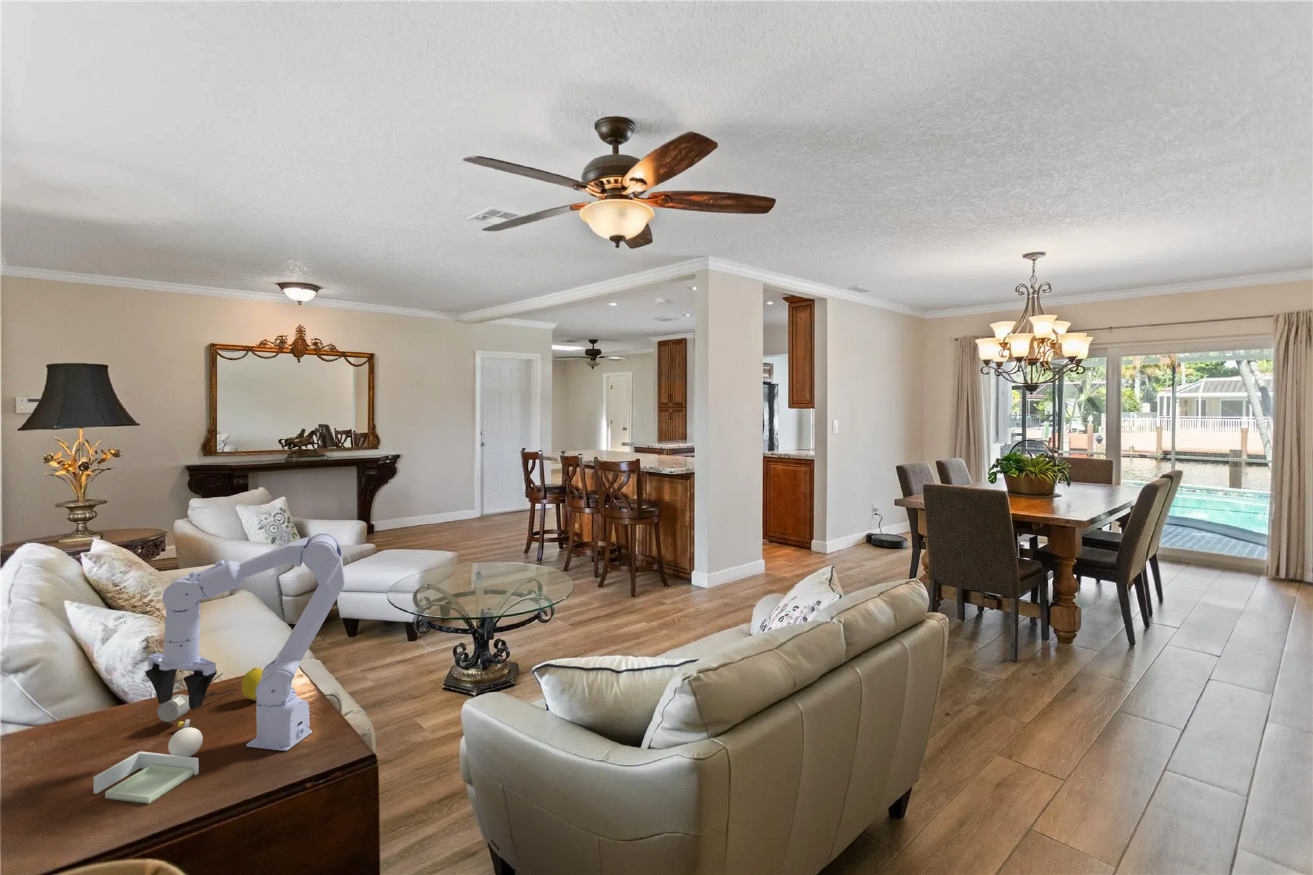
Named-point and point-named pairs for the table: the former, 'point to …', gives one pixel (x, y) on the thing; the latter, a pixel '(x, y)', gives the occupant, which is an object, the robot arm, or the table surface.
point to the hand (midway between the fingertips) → (180, 704)
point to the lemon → (251, 683)
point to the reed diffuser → (178, 708)
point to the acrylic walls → (142, 762)
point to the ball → (185, 742)
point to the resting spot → (149, 784)
